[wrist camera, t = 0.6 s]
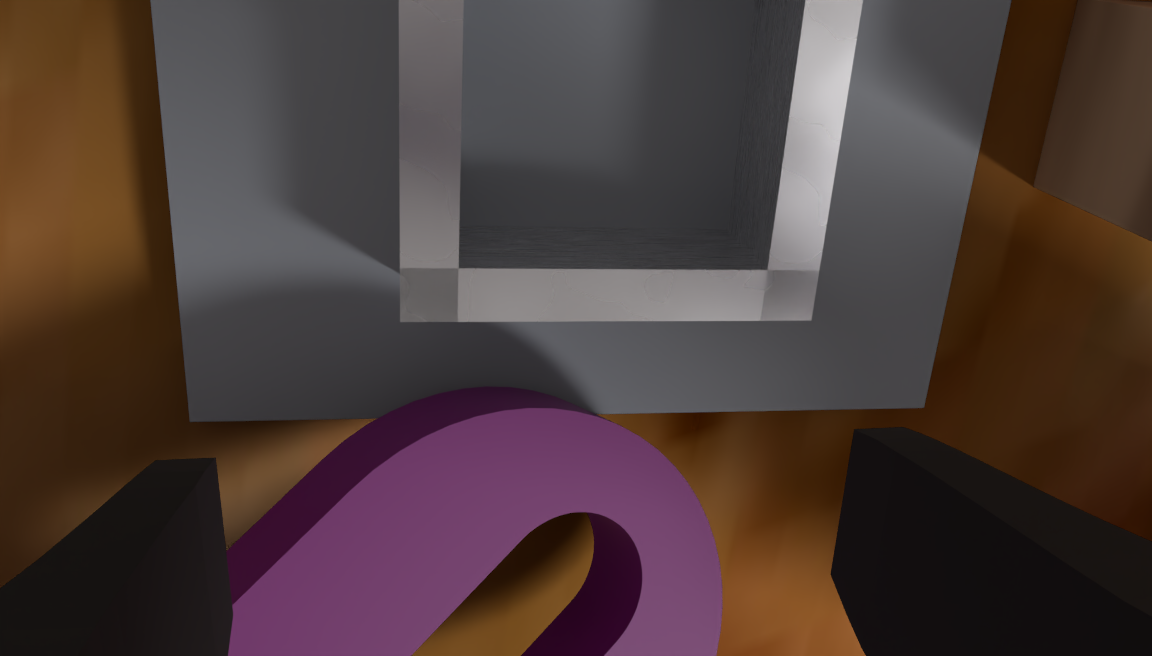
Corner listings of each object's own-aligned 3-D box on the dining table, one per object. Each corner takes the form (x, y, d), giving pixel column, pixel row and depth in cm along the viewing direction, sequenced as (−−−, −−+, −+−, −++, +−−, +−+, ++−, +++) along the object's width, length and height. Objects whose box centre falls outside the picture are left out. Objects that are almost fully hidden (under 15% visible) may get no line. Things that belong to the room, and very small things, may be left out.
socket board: (1050, -293, 19) (1173, -329, 16) (908, 392, 24) (980, 463, 21) (125, -394, 16) (62, -460, 13) (196, 403, 21) (164, 487, 18)
